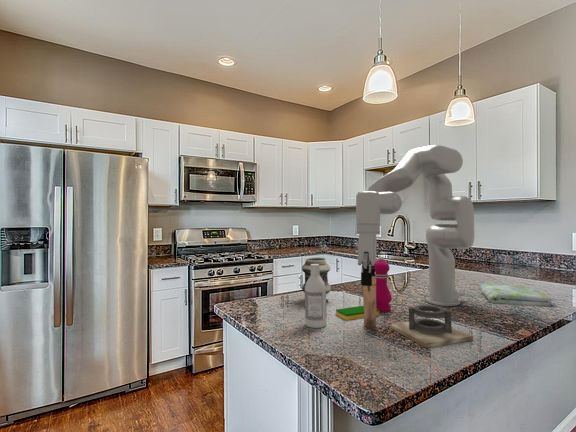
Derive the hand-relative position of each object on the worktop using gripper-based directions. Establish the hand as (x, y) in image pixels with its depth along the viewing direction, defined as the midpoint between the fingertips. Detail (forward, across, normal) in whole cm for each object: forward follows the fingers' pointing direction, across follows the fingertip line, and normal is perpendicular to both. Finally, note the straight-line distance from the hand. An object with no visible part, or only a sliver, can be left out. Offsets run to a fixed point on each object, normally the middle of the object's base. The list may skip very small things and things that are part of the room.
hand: (368, 282), depth 105 cm
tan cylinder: (+14, -1, 0) cm, 14 cm away
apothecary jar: (+14, -25, -24) cm, 37 cm away
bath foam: (+15, +3, -16) cm, 22 cm away
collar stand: (+14, +1, +18) cm, 23 cm away
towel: (+13, -51, +53) cm, 75 cm away
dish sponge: (+15, -12, -5) cm, 19 cm away
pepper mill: (+14, -21, +3) cm, 25 cm away
